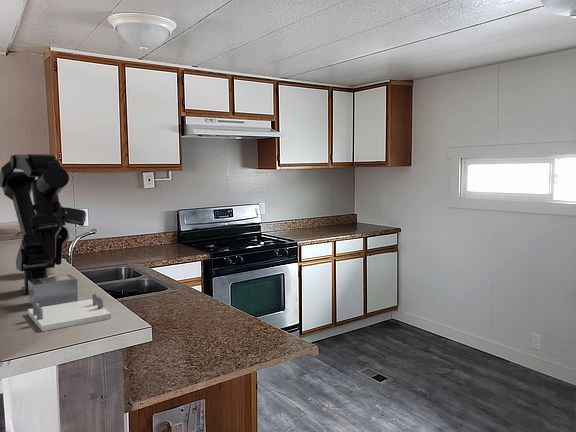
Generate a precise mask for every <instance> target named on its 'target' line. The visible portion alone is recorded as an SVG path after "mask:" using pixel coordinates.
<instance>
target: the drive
mask: <svg viewBox="0 0 576 432" xmlns="http://www.w3.org/2000/svg"><path fill="white" fill-rule="evenodd" d="M28 290H29V294H28V303H29V304H30V305H31V306H32V307H33V303H39V307H45V306H51V305H57V304H64V303H70V302H76V301H79V298H78V297H79V296H78V279H77V277H75V276H73V275H71V274H65V275H56V276H50V277H47V278H39V279H31V280H28Z"/></svg>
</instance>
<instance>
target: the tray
mask: <svg viewBox="0 0 576 432" xmlns="http://www.w3.org/2000/svg"><path fill="white" fill-rule="evenodd" d="M27 315H28V316H29V318H30V319H31V320H32V321H33V322H34V323H35V325H36V326H37V327H38V328H39V329H40V331H42V332H48V331H51V330H52V331H53V330H57V329H58V330H59V329H63V328H68V327H73V326H79V325H83V324H89V323H95V322H100V321H104V320H111V319H112V313H111V312H110V311H109V310H107V309H106V308H105V307H104V297H103V296H101V297H99V294H98V293H93V294H92V298H90V299H84V300H78V301H76V302H70V303H64V304H57V305H51V306H45V307H39V303H33V306H32V308H27Z"/></svg>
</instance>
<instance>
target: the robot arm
mask: <svg viewBox="0 0 576 432" xmlns="http://www.w3.org/2000/svg"><path fill="white" fill-rule="evenodd" d="M15 169H16V170H23V171H15ZM36 177H37V179H36ZM69 181H70V175H69V174H68V172H67V171H66V170H65V168H64V167H63V166H62V165H61V163H60V161H59V160H58V159H57V158H56V156H55V155H54V154H46V153H45V154H41V153H40V154H37V153H27V154H13V155H12V154H11V155H10V157H9V161H7V163H5V164H4V165H2V166H1V168H0V188H2V191H3V194H4V196H5V197H7V198H9V199H10V200H11V201H12V203H13V207H14V210H15V213H16V218H17V222H18V225H19V229H20V234H21V236H22V237H21V242H20V247H19V249H18V251H17V256H16V258H15V266H16V269H17V270H18V271H19V272H21V273H22V272H23V282H24V285H23V286H21V287H20V289H21V291H22V292H23V293H24V294H25V295H29V290H28V280H31V279H39V278H47V277H48V272H47V268H54V267H55V268H56V266H59V265H62V260H63V248H64V245H65V244H66V242H68V241H69V239H70V232H69V230H68V228H66V227H65V226H66V224H72V225H77V226H79V227H84V225H85V222H86V217H87V212H86V211H85V210H83V209H77V208H72V207H64V206H63V205H61V202H60V198H59V194H60V193H61V192H62V190H64V188H65V187H66V186H67V185H68V183H69ZM31 194H32V198H31ZM32 200H33V201H32ZM55 263H56V264H55Z"/></svg>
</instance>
